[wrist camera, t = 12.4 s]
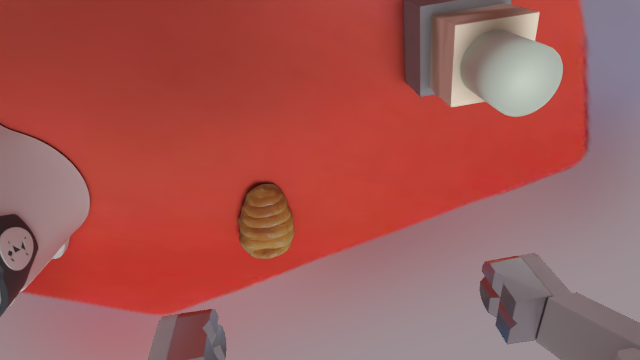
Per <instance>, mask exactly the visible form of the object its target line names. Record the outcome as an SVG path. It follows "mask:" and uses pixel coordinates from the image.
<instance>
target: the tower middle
mask: <svg viewBox="0 0 640 360" xmlns="http://www.w3.org/2000/svg"><path fill="white" fill-rule="evenodd" d="M539 13H540V12H538V11H534V10H530V9H526V8H522V7H518V6H514V5H510V4H506V3H504V4H497V5H491V6H485V7H478V8H472V9H466V10H459V11H453V12H447V13H441V14H434V15H431V46H430V89H431V90H432V91H433V92H434V93H435V94H436V95H438V96H439V97H440V98H441V99H442V100H443V101H444V102H445V103H446V104H448V105H449V106H450V107H456V106H462V105H468V104H474V103H480V102H486V101H484V100H483V99H482V98H480V97H479V96H477V95H476V94H474V93H473V92H472V91H470V90H469V89H468V88H467V87H466V86H465V85H464V83H463V82H462V79H461V75H460V65H461V61H462V58H463V55H464V53H465V51H466V50H467V48H468V47H469V46H470V44H471V43H472V42H473V41H474V40H475V39H477V38H478V37H479V36H481V35H483V34H485V33H487V32H490V31H494V30H504V31H508V32H511V33H513V34H516V35H519V36H522V37H525V38H527V39H530V40H533V41H535V38H536V32H537V25H538V19H539Z"/></svg>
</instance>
